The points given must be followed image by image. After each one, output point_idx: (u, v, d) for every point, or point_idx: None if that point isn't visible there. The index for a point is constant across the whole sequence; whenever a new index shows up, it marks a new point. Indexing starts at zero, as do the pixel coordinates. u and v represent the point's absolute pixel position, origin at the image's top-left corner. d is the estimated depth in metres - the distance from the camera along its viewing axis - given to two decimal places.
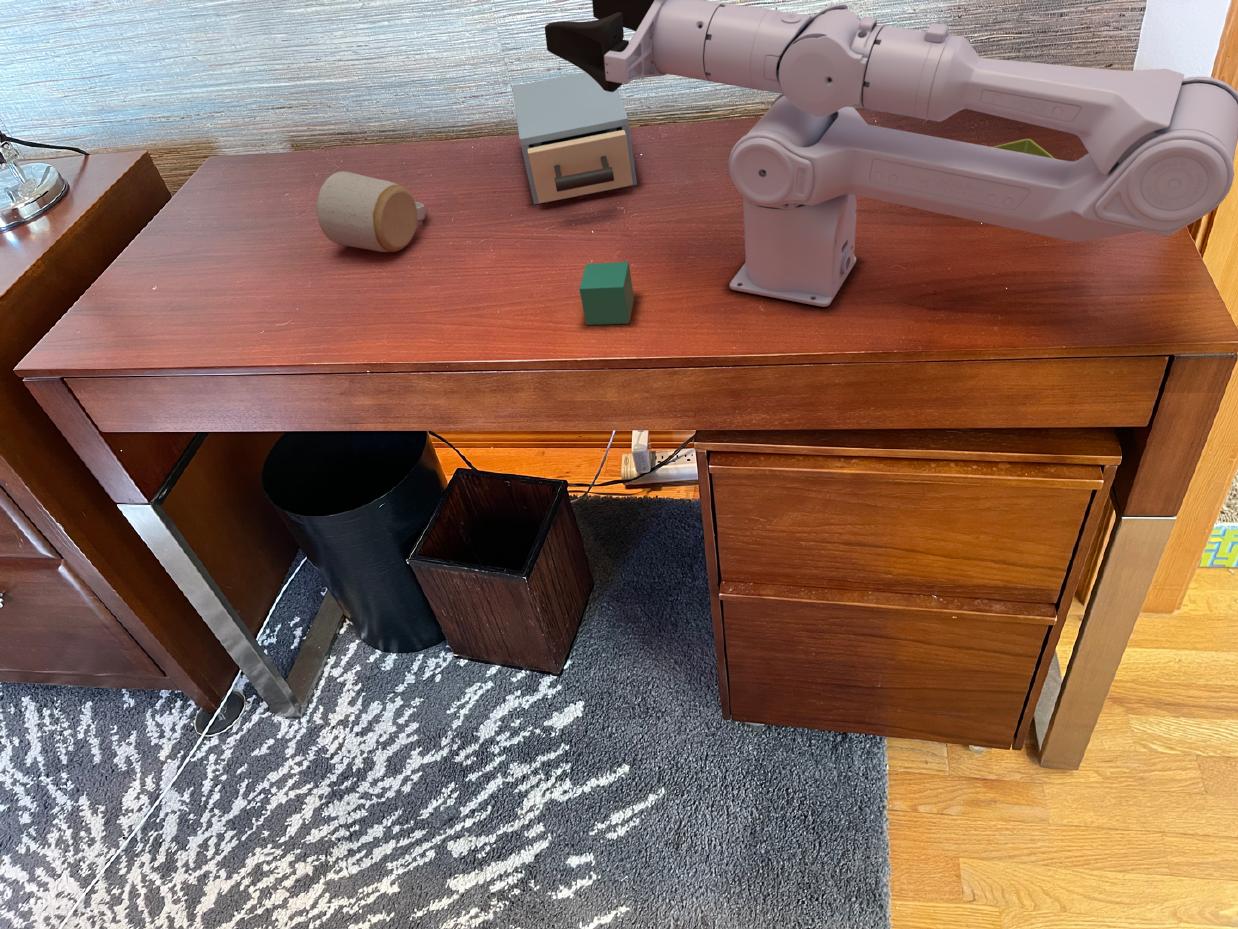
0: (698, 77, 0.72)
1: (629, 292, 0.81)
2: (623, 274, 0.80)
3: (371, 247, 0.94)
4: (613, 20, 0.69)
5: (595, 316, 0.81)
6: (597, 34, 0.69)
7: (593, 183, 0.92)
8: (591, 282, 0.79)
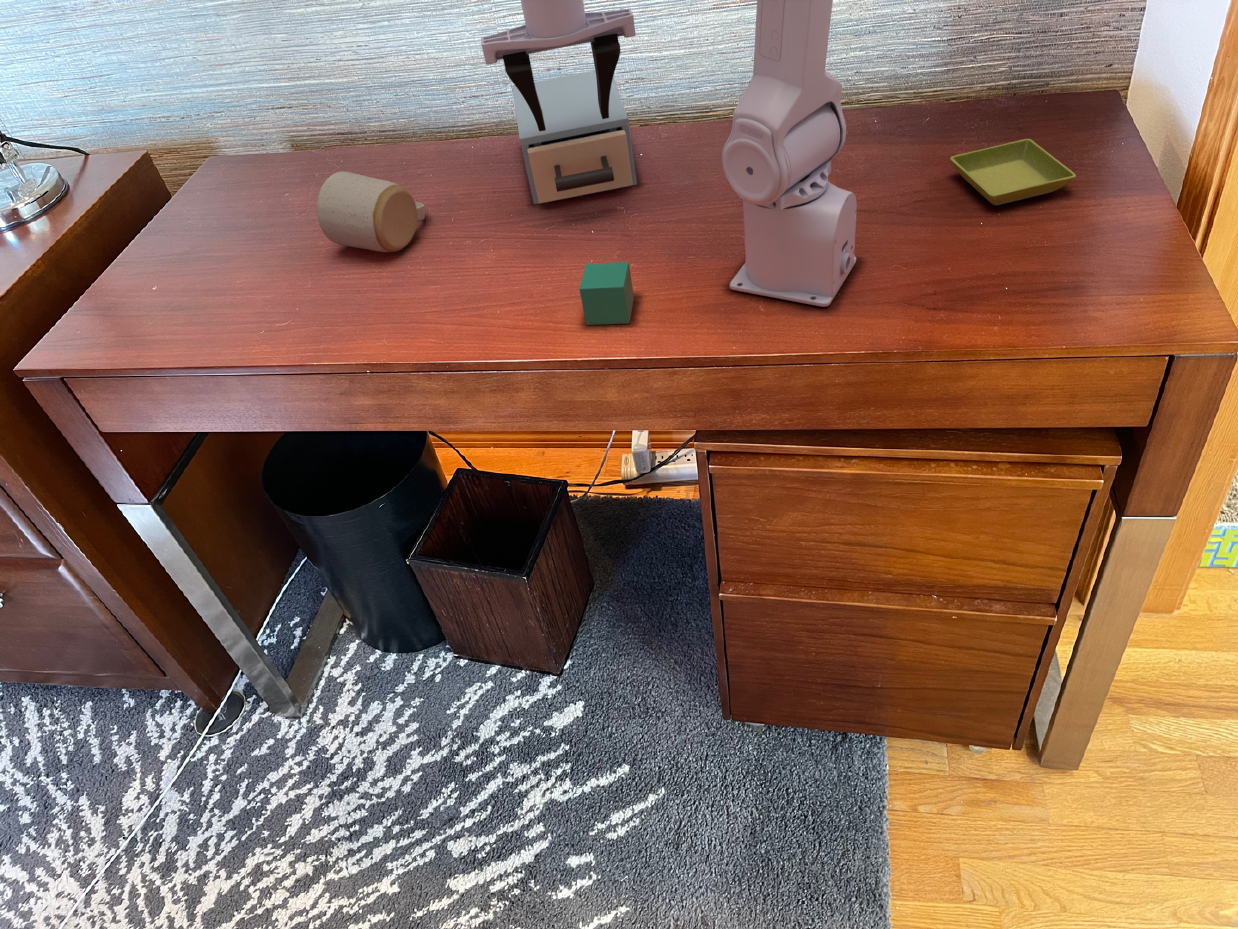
0: None
1: (629, 292, 0.81)
2: (623, 274, 0.80)
3: (371, 247, 0.94)
4: None
5: (595, 316, 0.81)
6: None
7: (593, 183, 0.92)
8: (591, 282, 0.79)
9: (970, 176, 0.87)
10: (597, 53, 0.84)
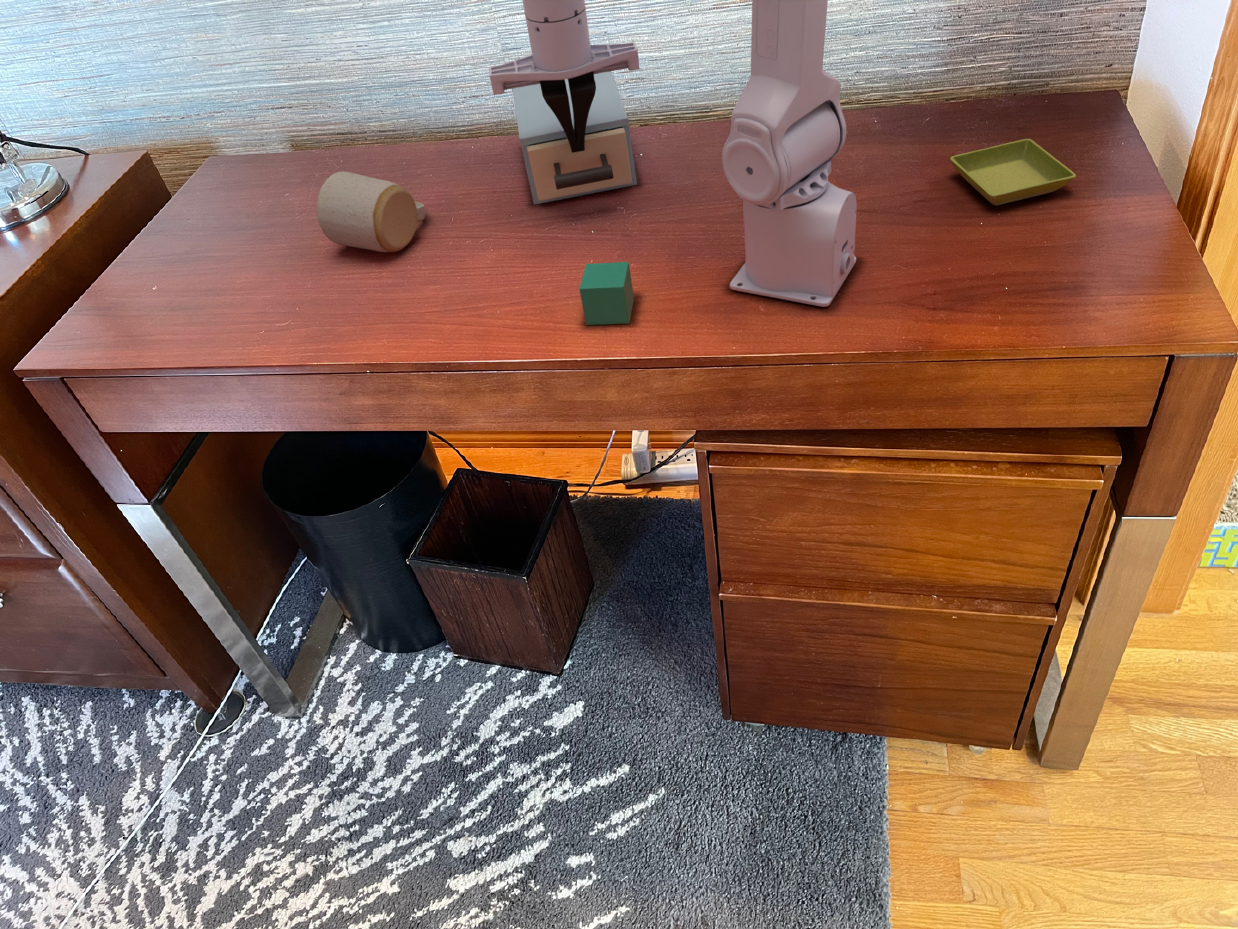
0: (539, 32, 0.83)
1: (629, 292, 0.81)
2: (623, 274, 0.80)
3: (371, 247, 0.94)
4: None
5: (595, 316, 0.81)
6: None
7: (592, 181, 0.92)
8: (591, 282, 0.79)
9: (970, 176, 0.87)
10: (573, 91, 0.87)
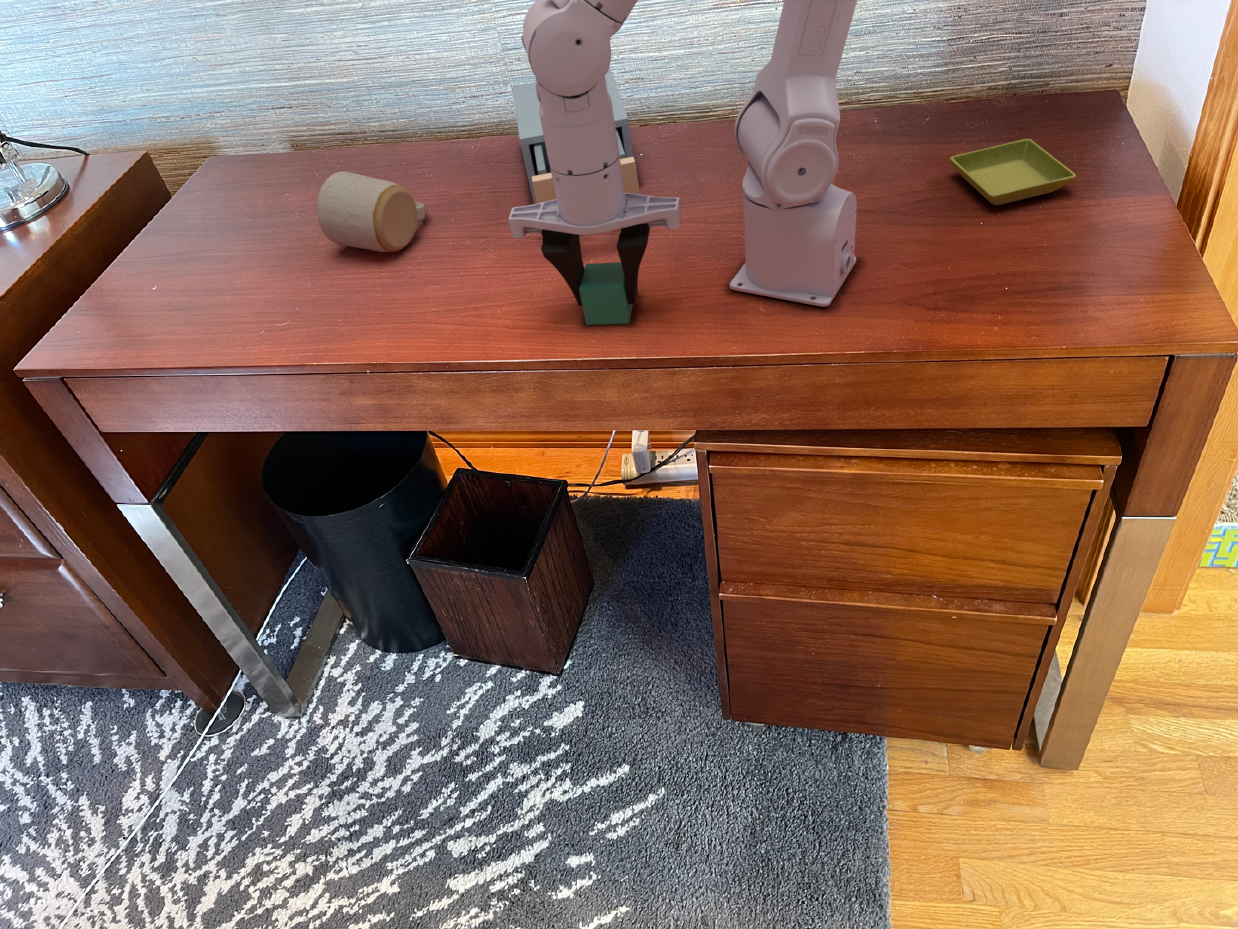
0: (560, 183, 0.72)
1: None
2: (623, 274, 0.80)
3: (371, 247, 0.94)
4: None
5: (595, 316, 0.81)
6: None
7: None
8: (591, 282, 0.79)
9: (970, 176, 0.87)
10: (618, 246, 0.75)
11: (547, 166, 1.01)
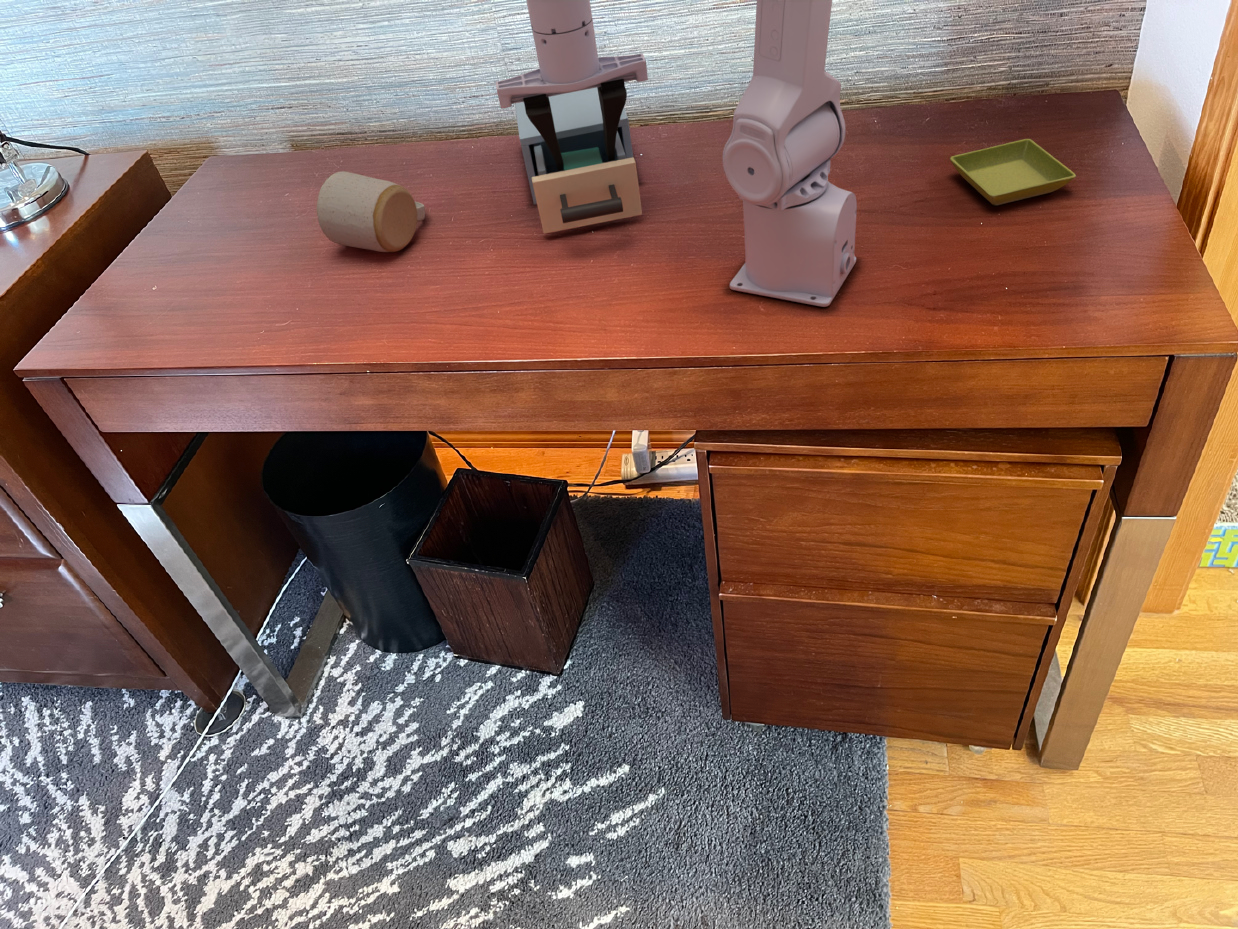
0: (546, 44, 0.82)
1: None
2: (598, 155, 0.92)
3: (371, 247, 0.94)
4: None
5: None
6: None
7: (601, 214, 0.87)
8: (573, 164, 0.91)
9: (970, 176, 0.87)
10: (604, 99, 0.86)
11: (547, 167, 1.01)
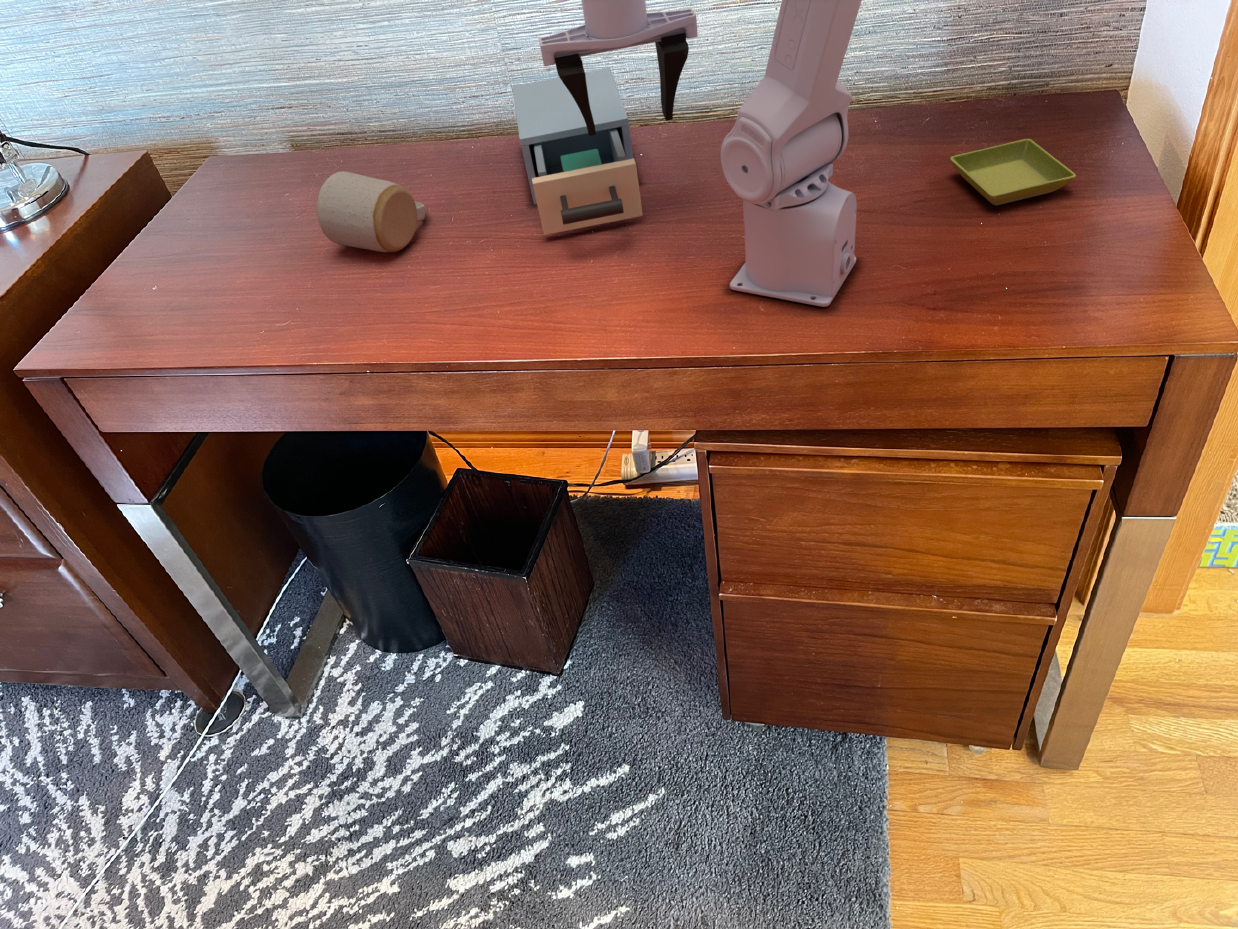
0: None
1: None
2: (597, 157, 0.92)
3: (371, 247, 0.94)
4: None
5: None
6: None
7: (601, 216, 0.87)
8: (572, 167, 0.91)
9: (970, 176, 0.87)
10: (665, 53, 0.82)
11: (547, 168, 1.01)
